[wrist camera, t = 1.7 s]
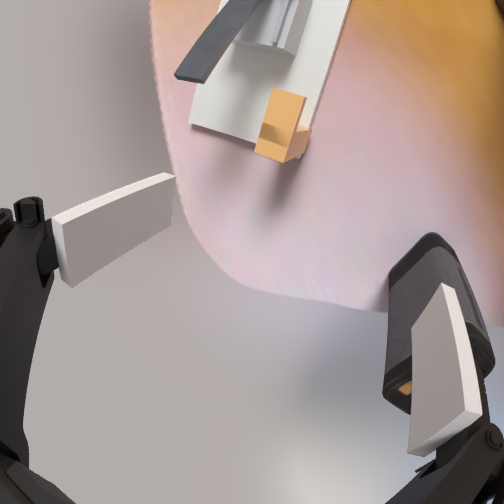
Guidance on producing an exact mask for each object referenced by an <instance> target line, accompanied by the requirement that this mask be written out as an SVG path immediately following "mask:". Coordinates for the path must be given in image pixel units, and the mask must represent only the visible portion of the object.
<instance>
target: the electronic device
mask: <svg viewBox="0 0 504 504" xmlns="http://www.w3.org/2000/svg"><path fill="white" fill-rule="evenodd" d="M441 283H443V284H445V285H447V286H449V287H451V288H453V289H455V292H456V295H457V299H458V302H459V305H460V308H461V312H462V315H463V318H464V322H465V326H466V329H467V333H468V337H469V341H470V345H471V350H472V354H473V359H474V360H477V362H478V364H479V366H480V368H481V370H482V373H483V378H485V377H487V376H488V374H489V373H490V372H491V371H492V370H493V368H494V366H495V357H494V354H493V350H492V347H491V343H490V340H489V337H488V334H487V330H486V327H485V324H484V320H483V318H482V315H481V312H480V309H479V307H478V304H477V301H476V299H475V296H474V294H473V291H472V289H471V286H470V284H469V281H468V279H467V277H466V275H465V273H464V271H463V268H462V266H461V264H460V262H459V260H458V258H457V255H456V253H455V251H454V250H453V248H452V247H451V246H450V245H449V244H448V243H447V242H446V241H445V240H444V239H443V238H442V237H441V236H440V235H439V234H437V233H434V232H430V233H427V234H425V235H424V236H423V237H422V238H421V239H420V240H419V241H418V242H417V243H416V244H415V245H414V246H413V247H412V249H411V250H410V251H409V252H408V253H407V254H406V255H405V256H404V257H403V258H402V259H401V260H400V261H399V262H398V263H397V264H396V265H395V266H394V267H393V268H392V269H391V271H390V273H389V313H388V315H389V316H388V336H387V351H386V363H385V374H384V383H383V391H382V394H383V397H384V398H385V399H386V400H387V401H389V402H390V403H392V404H393V405H395V406H396V407H398V408H399V409H401V410H402V411H404V412H405V413H407V414H409V415H411V403H412V333H411V328H412V327H413V325H414V324H415V322H416V321H417V320H418V318H419V317H420V315H421V314H422V312H423V311H424V309H425V308H426V306H427V305H428V303H429V302H430V300H431V298H432V297H433V295H434V294H435V292H436V291H437V289H438V287H439V286H440V284H441Z"/></svg>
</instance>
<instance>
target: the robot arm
mask: <svg viewBox="0 0 504 504" xmlns="http://www.w3.org/2000/svg"><path fill="white" fill-rule="evenodd" d="M496 1H497V3H498V5H499V7H500V9H501V11H502V13H503V15H504V0H496ZM175 179H176V176H173V175H170V174H167V173H161V174H158V175H155V176H152V177H149V178H146V179H143V180H141V181H138V182H135V183H133V184H130V185H127V186H125V187H122V188H119V189H117V190H114V191H112V192H109V193H107V194H104V195H102V196H99V197H97V198H95V199H92V200H90V201H87V202H85V203H82V204H80V205H78V206H76V207H73V208H72V209H69V210H67V211H65V212H62V213H60V214H58V215H56V216H54V217H51V218H50V219H48V220H46V221H45V218H44V209H43V201H42V199H41V198H39V197H27V198H23V199H21V200H19V201H17V202H15V203H14V211H15V217H16V221H13V215H12V211H11V210H10V209H4V208H1V209H0V504H75V503H74V502H73V501H72V500H71V499H70V498H68V497H67V496H66V495H65V494H64V493H63V492H62V491H61V490H60V489H59V488H57V487H56V486H55V485H54V484H53V483H51V482H49V481H47V480H45V479H44V478H42V477H41V476H39V475H37V474H36V473H34V472H33V471H31V470H30V469H29V447H28V442H27V439H26V437H25V434H24V430H23V416H24V406H25V399H26V392H27V385H28V379H29V373H30V367H31V363H32V358H33V353H34V348H35V344H36V340H37V335H38V331H39V327H40V324H41V320H42V316H43V313H44V309H45V306H46V302H47V299H48V296H49V293H50V290H51V287H52V284H53V281H54V270H55V269H57V268H58V267H59V270H60V276H61V279H62V280H63V281H64V282H65V283H66V284H68V285H69V286H70V287H71V288H73V287H74V286H76V285H77V284H79V283H80V282H82V281H83V280H85V279H86V278H88V277H89V276H91V275H92V274H94V273H95V272H97V271H98V270H100V269H101V268H103V267H104V266H106V265H108V264H109V263H111V262H112V261H114V260H115V259H117V258H118V257H120V256H122V255H123V254H125V253H126V252H128V251H130V250H131V249H133V248H134V247H136V246H138V245H139V244H141V243H142V242H144V241H146V240H147V239H149V238H151V237H152V236H154V235H156V234H157V233H159V232H161V231H162V230H164V229H165V228H167V227H169V226H171V216H172V206H173V196H174V188H175ZM411 333H412V403H411V420H410V432H409V442H408V452H407V453H408V454H413V455H417V456H422V457H425V456H427V455H428V454H430V453H432V452H433V451H435V450H436V459H434V460H432V461H431V462H429V463H427V464H426V465H424V466H422V467H420V468H419V469H417V470H415V472H416V473H417V472H419V471H420V472H419V473H418V474H417V475H416V476H415V478H413V479H412V480H411V481H410V482H409V483H408V484H407V485H406V486H405V487H404V488H403V489H401V490H400V491H399V492H398V493H397V494H396V495H395V496H394V497H392V498H391V499H390V500H389V501H388V502H386V503H385V504H487V501H489V500H491V499H493V498H494V499H493V502H492V504H504V439H503V435H502V433H501V431H500V429H499V428H498V427H497V426H496V425H495V424H493V423H490V416H489V409H488V402H487V395H486V393H485V392H486V389H485V385H484V378H483V373H482V370H481V368H480V366H479V364H478V362H477V360H474V359H473V354H472V350H471V345H470V341H469V337H468V333H467V329H466V326H465V322H464V318H463V315H462V312H461V308H460V305H459V302H458V299H457V295H456V292H455V289H453V288H451V287H449V286H447V285H445V284H443V283H441V284H440V286H439V287H438V289H437V291H436V292H435V294H434V295H433V297H432V298H431V300H430V302H429V303H428V305H427V306H426V308H425V309H424V311H423V312H422V314H421V315H420V317H419V318H418V320H417V321H416V322H415V324H414V325H413V327H412V328H411Z"/></svg>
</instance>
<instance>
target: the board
mask: <svg viewBox="0 0 504 504" xmlns="http://www.w3.org/2000/svg"><path fill="white" fill-rule="evenodd" d="M228 1H229V0H221V3H220V6H219V9H218V12H217V14H218V13H219V12H220V10H221V9H222V8H223V7H224V6H225V5H226V3H227V2H228ZM350 3H351V0H263V1H262V2H261V3H260V5H259V6H258V7H257V8H256V10H255V11H254V12H253V14H252V15H251V16H250V18H249V19H248V20H247V22H246V23H245V24H244V26H243V27H242V28H241V30H240V31H239V32H238V34H237V35H236V37H235V38H234V39H233V41H232V42H231V44H230V45H229V47H228V48H227V50H226V51H225V53H224V54H223V56H222V57H221V59H220V60H219V62H218V63H217V65H216V66H215V68H214V69H213V71H212V72H211V74H210V76H209V77H208V79H207V80H206V82H205V84H200V83H197V86H196V90H195V95H194V99H193V103H192V108H191V112H190V116H189V121H188V123H192V124H195V125H199V126H202V127H206V128H209V129H212V130H216V131H219V132H222V133H225V134H228V135H232V136H235V137H238V138H241V139H244V140H247V141H250V142H253V143H255V144H256V143H257V140H258V136H259V133H260V130H261V126H262V123H263V119H264V116H265V112H266V109H267V106H268V102H269V99H270V96H271V92H272V89H273V88H277V89H280V90H284V91H287V92H291V93H294V94H297V95H300V96H304V97H307V99H306V103H305V106H304V109H303V112H302V115H301V118H300V121H299V124H298V125H300V126H303V127H306V128H309V129H310V128H311V125H312V122H313V119H314V116H315V113H316V110H317V107H318V104H319V101H320V98H321V95H322V91H323V88H324V85H325V82H326V79H327V76H328V73H329V70H330V67H331V64H332V61H333V57H334V54H335V51H336V48H337V45H338V42H339V39H340V35H341V32H342V29H343V26H344V23H345V19H346V16H347V13H348V10H349V7H350ZM301 155H302V154H301ZM301 155H299V156H297V157H295V158H296V159H299V158H301Z"/></svg>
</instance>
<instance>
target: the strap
mask: <svg viewBox="0 0 504 504" xmlns="http://www.w3.org/2000/svg"><path fill="white" fill-rule="evenodd" d="M262 1H263V0H229V1H228V2H227V3H226V5H225V6H224V7H223V8H222V9H221V10H220V12H219V13H218V14H217V15H216V17H215V18H214V19H213V20H212V22H211V23H210V24H209V25H208V27H207V28H206V29H205V31H204V32H203V33H202V35H201V36H200V37H199V39H198V40H197V41H196V43H195V44H194V46H193V47H192V48H191V50H190V51H189V53H188V54H187V55H186V57H185V58H184V60H183V61H182V63H181V64H180V66H179V67H178V69H177V70H176V72H175V73H174V76H175V77H176V78H177V79H178V80H184V81H189V82H195V83H200V84H205V82H206V80H207V79H208V77H209V76H210V74H211V72H212V71H213V69H214V68H215V66H216V65H217V63H218V62H219V60H220V59H221V57H222V56H223V54H224V53H225V51H226V50H227V48H228V47H229V45H230V44H231V42H232V41H233V39H234V38H235V37H236V35H237V34H238V32H239V31H240V30H241V28H242V27H243V26H244V24H245V23H246V22H247V20H248V19H249V18H250V16H251V15H252V14H253V12H254V11H255V10H256V8H257V7H258V6H259V5H260V3H261V2H262Z"/></svg>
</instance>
